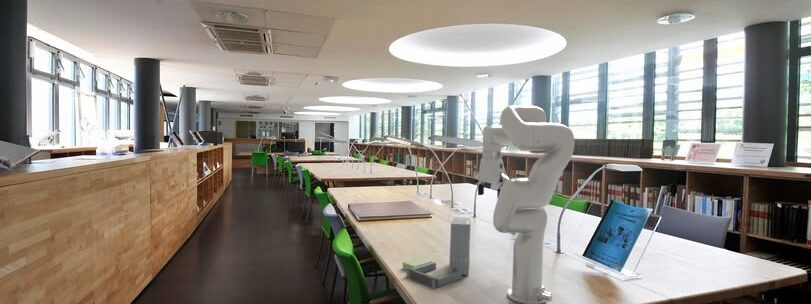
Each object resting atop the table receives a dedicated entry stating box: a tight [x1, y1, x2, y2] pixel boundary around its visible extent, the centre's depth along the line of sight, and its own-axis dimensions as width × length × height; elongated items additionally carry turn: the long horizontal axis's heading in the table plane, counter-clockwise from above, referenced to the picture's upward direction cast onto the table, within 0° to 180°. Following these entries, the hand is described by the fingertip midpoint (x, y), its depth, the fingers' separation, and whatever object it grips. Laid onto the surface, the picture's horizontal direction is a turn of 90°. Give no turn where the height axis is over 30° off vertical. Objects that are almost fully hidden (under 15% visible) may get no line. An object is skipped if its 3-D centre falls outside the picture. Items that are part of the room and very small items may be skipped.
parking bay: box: [406, 261, 463, 289], centre depth 145 cm, size 15×14×3 cm
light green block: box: [402, 256, 433, 271], centre depth 155 cm, size 7×10×3 cm
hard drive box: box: [448, 216, 472, 276], centre depth 155 cm, size 16×8×20 cm, turn 168°
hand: (490, 196), depth 159 cm, fingers open, 9 cm apart
